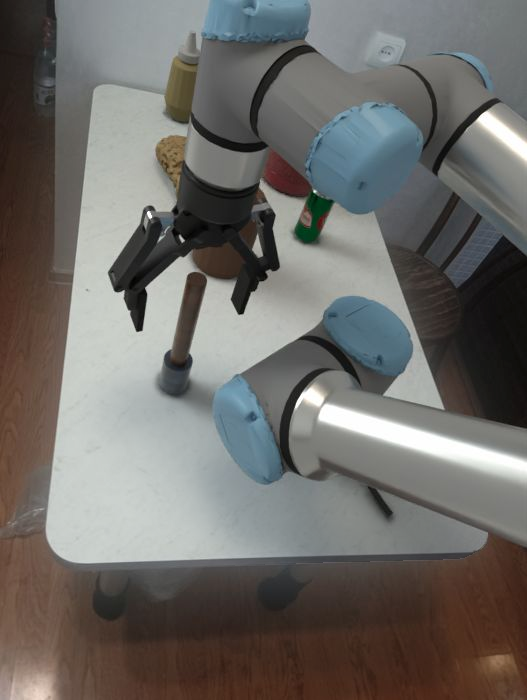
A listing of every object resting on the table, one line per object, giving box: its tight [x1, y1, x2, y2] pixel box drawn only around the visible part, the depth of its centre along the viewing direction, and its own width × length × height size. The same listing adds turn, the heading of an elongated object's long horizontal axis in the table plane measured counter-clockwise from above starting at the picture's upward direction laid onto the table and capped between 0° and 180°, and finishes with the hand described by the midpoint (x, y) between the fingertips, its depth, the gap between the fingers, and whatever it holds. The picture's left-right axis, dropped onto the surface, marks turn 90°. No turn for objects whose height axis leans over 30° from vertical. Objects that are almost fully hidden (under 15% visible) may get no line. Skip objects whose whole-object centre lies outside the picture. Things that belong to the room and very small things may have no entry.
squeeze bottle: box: [163, 30, 201, 123], centre depth 115 cm, size 8×8×18 cm
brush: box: [158, 271, 208, 395], centre depth 70 cm, size 4×4×22 cm
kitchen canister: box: [262, 148, 311, 197], centre depth 111 cm, size 13×13×18 cm
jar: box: [191, 187, 267, 279], centre depth 92 cm, size 10×10×14 cm
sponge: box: [154, 134, 187, 199], centre depth 104 cm, size 13×8×20 cm
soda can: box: [293, 186, 336, 244], centre depth 103 cm, size 5×5×12 cm
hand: (188, 314), depth 67 cm, fingers open, 12 cm apart
